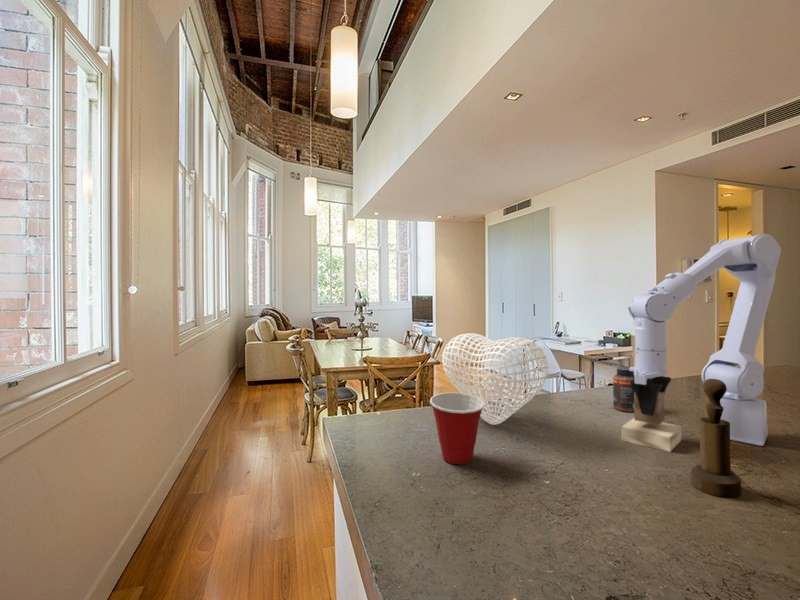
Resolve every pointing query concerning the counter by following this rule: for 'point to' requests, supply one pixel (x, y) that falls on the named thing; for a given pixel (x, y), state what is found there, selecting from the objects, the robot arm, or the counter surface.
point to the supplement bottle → (623, 390)
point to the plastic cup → (457, 424)
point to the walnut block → (658, 412)
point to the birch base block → (652, 434)
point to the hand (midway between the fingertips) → (651, 411)
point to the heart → (490, 346)
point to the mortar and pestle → (715, 448)
